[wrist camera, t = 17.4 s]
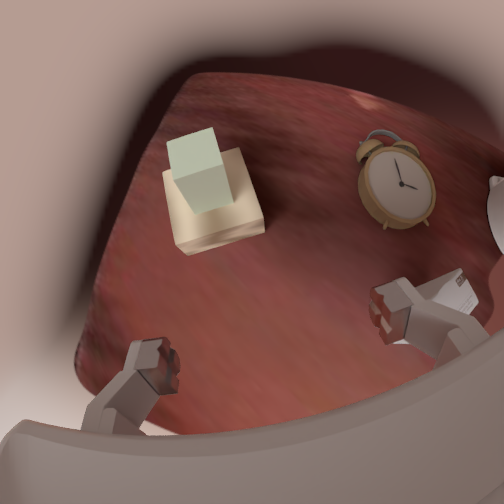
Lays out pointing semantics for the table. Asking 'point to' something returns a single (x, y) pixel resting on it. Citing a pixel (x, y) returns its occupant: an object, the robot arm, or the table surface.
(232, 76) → the table surface
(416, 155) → the alarm clock
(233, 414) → the table surface
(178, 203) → the birch block
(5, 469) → the robot arm
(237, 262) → the table surface
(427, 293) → the skincare box
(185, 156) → the sage block
